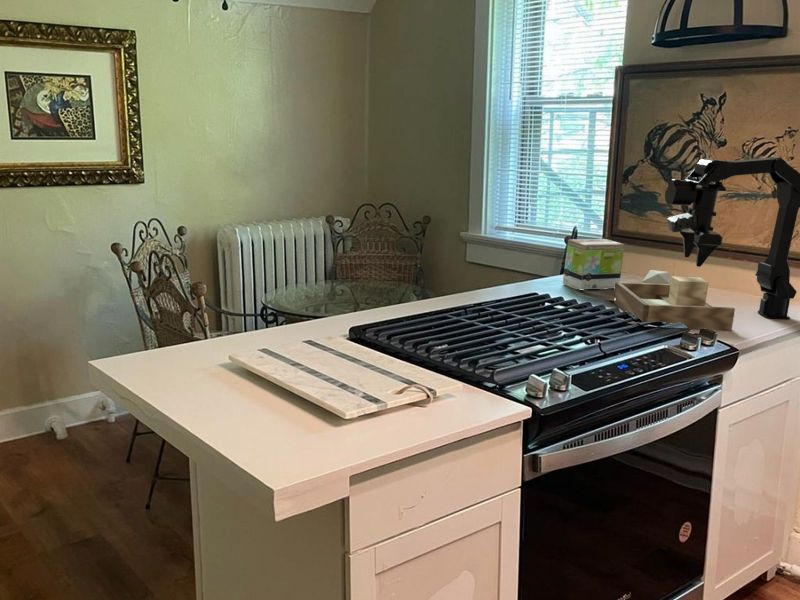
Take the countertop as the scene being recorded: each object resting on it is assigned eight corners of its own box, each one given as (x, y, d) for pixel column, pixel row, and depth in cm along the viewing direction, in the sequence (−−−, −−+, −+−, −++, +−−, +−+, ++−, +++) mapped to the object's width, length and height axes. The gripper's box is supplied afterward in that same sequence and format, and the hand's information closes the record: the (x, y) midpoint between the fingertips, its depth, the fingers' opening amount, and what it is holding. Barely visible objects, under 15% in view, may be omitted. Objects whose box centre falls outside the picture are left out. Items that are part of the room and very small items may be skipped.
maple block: (696, 303, 219) (699, 277, 218) (704, 309, 214) (708, 282, 212) (667, 302, 219) (671, 276, 217) (675, 307, 213) (679, 281, 211)
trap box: (693, 305, 230) (695, 285, 229) (731, 330, 205) (735, 308, 203) (613, 301, 229) (615, 281, 228) (641, 327, 204) (644, 305, 202)
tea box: (581, 292, 240) (586, 244, 236) (561, 284, 249) (566, 238, 245) (620, 289, 246) (625, 243, 243) (599, 282, 255) (604, 237, 251)
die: (673, 299, 239) (659, 269, 242) (681, 290, 231) (667, 260, 234) (647, 308, 239) (634, 278, 242) (654, 300, 231) (640, 270, 233)
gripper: (662, 197, 219) (653, 250, 224) (686, 211, 202) (674, 269, 207) (701, 199, 220) (691, 253, 225) (728, 214, 202) (716, 272, 207)
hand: (692, 261), depth 216 cm, fingers open, 9 cm apart
